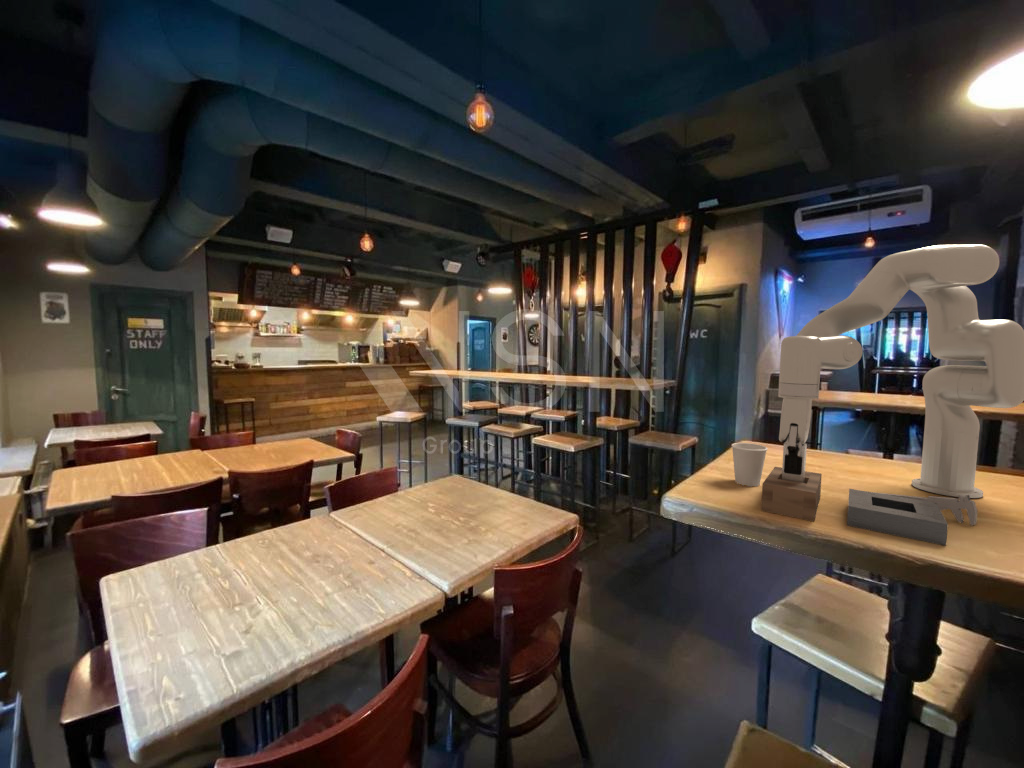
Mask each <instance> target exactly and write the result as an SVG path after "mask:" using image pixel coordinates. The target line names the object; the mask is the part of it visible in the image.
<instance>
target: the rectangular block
mask: <svg viewBox="0 0 1024 768" xmlns="http://www.w3.org/2000/svg"><path fill="white" fill-rule="evenodd" d="M786 442H787V440H785V442H784V443H783V451H782V466H781V468H782V480H787V481H793V482H799V483H805V471H806V465H807V463H806V462H807V447H808V445H807V444H808V443H806V442H805V443H803V444H802V447H801V457H802V471H801V475H795V474H789V473H785V472H784V461H785V455H786V444H787V443H786ZM796 446H797V445H796Z"/></svg>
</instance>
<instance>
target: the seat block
mask: <svg viewBox="0 0 1024 768" xmlns="http://www.w3.org/2000/svg"><path fill="white" fill-rule="evenodd" d="M848 489H849V490H848V501H847V503H848V504H847V518H846V520H847V521H846V526H849V527H854V528H858V529H863V530H867V531H873V532H878V533H883V534H887V535H892V536H896V537H901V538H907V539H910V540H911V539H912V540H915V541H916V540H917V541H921V542H926V543H931V544H936V545H940V546H947V541H948V540H947V538H948V528H949V527H948V526H949V524H948V522H947V519H946V518H945V517H944V514H943V513H942V510H940V508H939V507H938V505H937V503H934V502H928V501H922V500H916V499H910V498H903V497H897V496H891V495H885V494H879V493H880V492H876V493H873V492H874V491H868V490H867V491H865V490H860V489H854V488H848Z"/></svg>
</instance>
